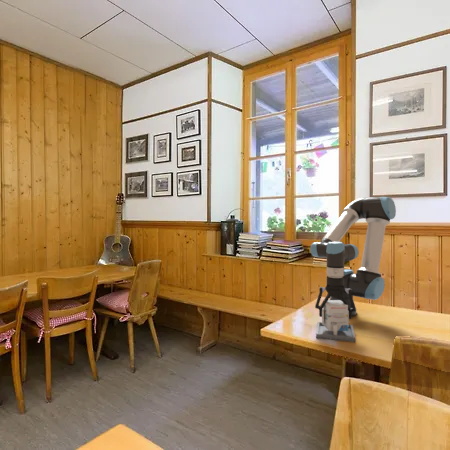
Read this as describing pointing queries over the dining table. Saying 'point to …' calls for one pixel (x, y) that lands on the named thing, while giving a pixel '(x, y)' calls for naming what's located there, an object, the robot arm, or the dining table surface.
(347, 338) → the tray
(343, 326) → the ink box
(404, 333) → the dining table surface
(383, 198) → the robot arm
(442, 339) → the dining table surface
